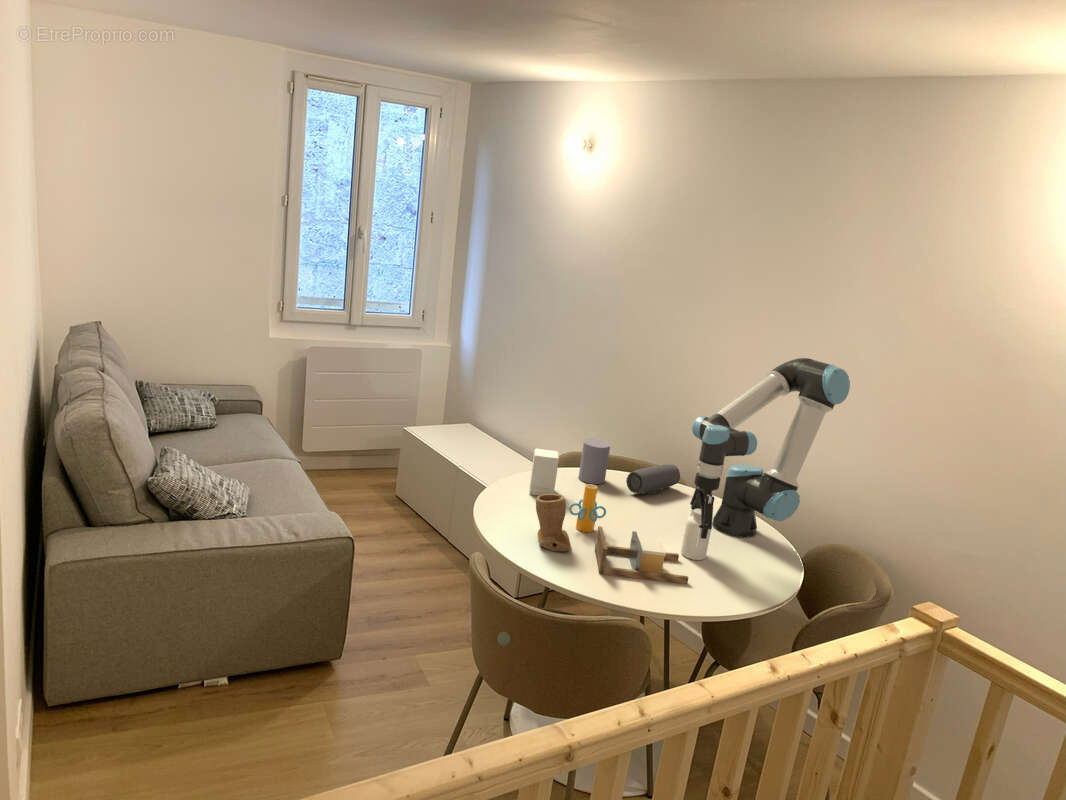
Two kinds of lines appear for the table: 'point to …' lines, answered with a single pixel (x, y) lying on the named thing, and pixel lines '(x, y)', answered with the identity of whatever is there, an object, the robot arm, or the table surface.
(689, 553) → the pill bottle
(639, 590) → the table surface
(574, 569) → the table surface
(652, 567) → the cream cube
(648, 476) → the bluetooth speaker
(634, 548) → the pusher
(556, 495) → the brown felt boot
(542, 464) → the supplement box
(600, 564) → the lane
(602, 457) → the container
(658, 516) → the table surface
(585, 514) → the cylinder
